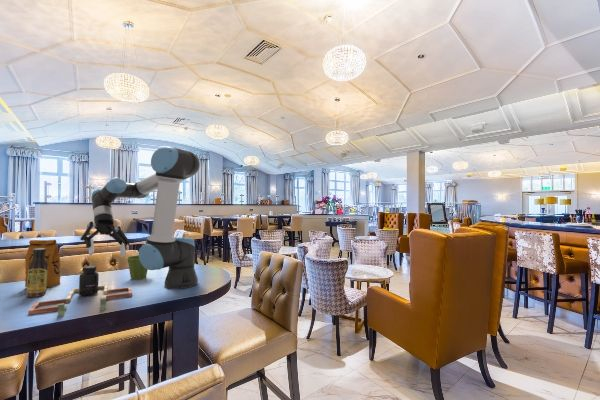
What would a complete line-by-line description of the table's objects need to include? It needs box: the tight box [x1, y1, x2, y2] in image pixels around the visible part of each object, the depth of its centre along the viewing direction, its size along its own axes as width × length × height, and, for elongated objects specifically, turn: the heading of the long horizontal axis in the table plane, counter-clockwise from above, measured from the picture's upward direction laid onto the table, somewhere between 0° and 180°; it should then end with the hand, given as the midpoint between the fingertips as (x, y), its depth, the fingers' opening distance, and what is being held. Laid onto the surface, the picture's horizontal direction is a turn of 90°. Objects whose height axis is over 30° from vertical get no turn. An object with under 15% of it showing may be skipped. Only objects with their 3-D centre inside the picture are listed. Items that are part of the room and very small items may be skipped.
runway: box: [28, 284, 133, 318], centre depth 119 cm, size 32×32×4 cm
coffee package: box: [24, 239, 62, 288], centre depth 140 cm, size 10×12×22 cm
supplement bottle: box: [78, 265, 100, 297], centre depth 127 cm, size 7×7×12 cm
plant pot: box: [125, 254, 148, 281], centre depth 155 cm, size 12×12×11 cm
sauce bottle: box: [26, 248, 48, 298], centre depth 125 cm, size 6×6×20 cm
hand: (108, 255), depth 130 cm, fingers open, 13 cm apart
